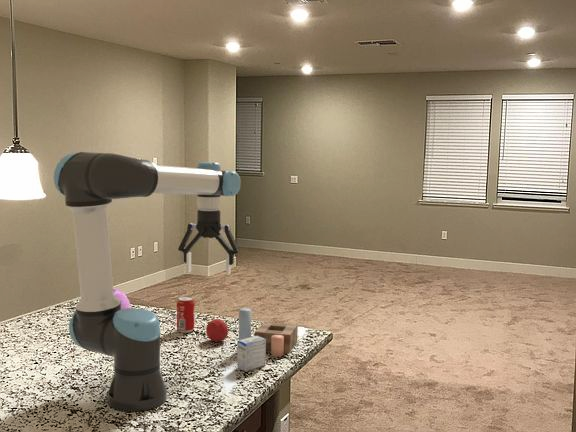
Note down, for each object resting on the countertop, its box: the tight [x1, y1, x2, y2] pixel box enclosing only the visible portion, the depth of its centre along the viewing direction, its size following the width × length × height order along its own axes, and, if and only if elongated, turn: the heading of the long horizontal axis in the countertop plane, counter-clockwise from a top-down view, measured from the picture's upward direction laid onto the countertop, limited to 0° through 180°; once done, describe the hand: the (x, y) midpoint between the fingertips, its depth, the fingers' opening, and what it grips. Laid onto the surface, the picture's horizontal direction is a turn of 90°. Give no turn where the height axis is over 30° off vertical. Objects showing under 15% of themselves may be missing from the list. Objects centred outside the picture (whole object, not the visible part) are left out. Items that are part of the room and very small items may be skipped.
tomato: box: [205, 318, 229, 343], centre depth 215 cm, size 8×8×8 cm
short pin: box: [270, 335, 284, 358], centre depth 202 cm, size 4×4×6 cm
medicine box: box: [236, 335, 267, 372], centre depth 190 cm, size 8×4×9 cm, turn 134°
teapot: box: [113, 287, 132, 309], centre depth 244 cm, size 14×20×11 cm
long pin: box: [238, 307, 252, 341], centre depth 204 cm, size 4×4×14 cm
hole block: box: [254, 321, 299, 354], centre depth 211 cm, size 12×12×6 cm
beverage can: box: [176, 296, 195, 334], centre depth 225 cm, size 6×6×12 cm
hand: (208, 273), depth 207 cm, fingers open, 13 cm apart
